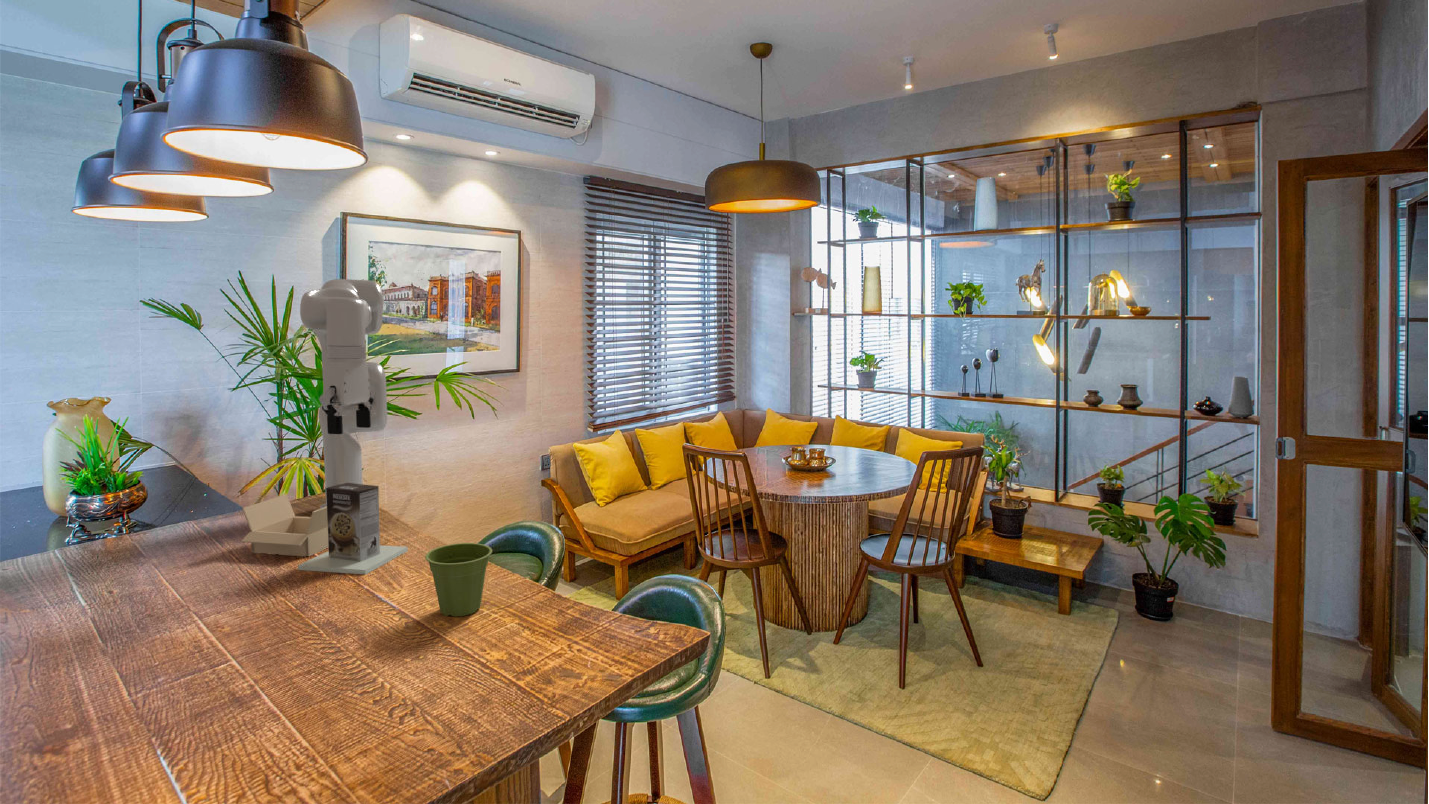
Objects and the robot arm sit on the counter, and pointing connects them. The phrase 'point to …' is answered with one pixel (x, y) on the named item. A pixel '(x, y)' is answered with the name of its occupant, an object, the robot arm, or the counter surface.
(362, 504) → the coffee box
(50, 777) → the counter surface
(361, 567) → the tile
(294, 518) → the carton
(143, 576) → the counter surface
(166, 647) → the counter surface
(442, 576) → the plant pot
